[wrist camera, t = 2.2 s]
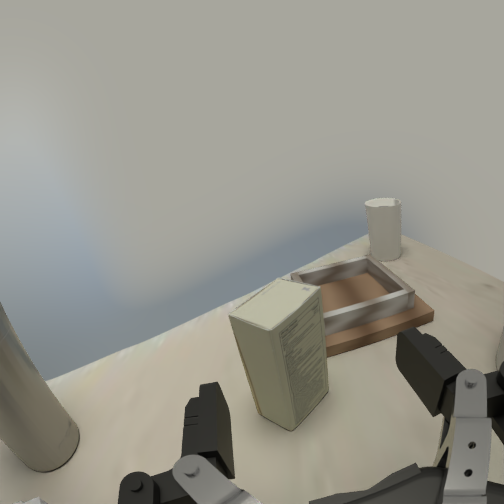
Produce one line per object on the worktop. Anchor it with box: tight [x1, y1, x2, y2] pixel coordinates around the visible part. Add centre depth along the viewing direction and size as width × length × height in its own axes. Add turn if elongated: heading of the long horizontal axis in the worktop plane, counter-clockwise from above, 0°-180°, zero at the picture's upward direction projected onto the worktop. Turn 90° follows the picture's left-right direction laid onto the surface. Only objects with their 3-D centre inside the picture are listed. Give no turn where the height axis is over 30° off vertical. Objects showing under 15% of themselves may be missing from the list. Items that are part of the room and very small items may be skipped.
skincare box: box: [228, 278, 329, 431], centre depth 24 cm, size 6×4×12 cm
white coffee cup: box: [365, 198, 401, 261], centre depth 51 cm, size 7×7×10 cm
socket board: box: [291, 254, 434, 357], centre depth 39 cm, size 17×17×4 cm
